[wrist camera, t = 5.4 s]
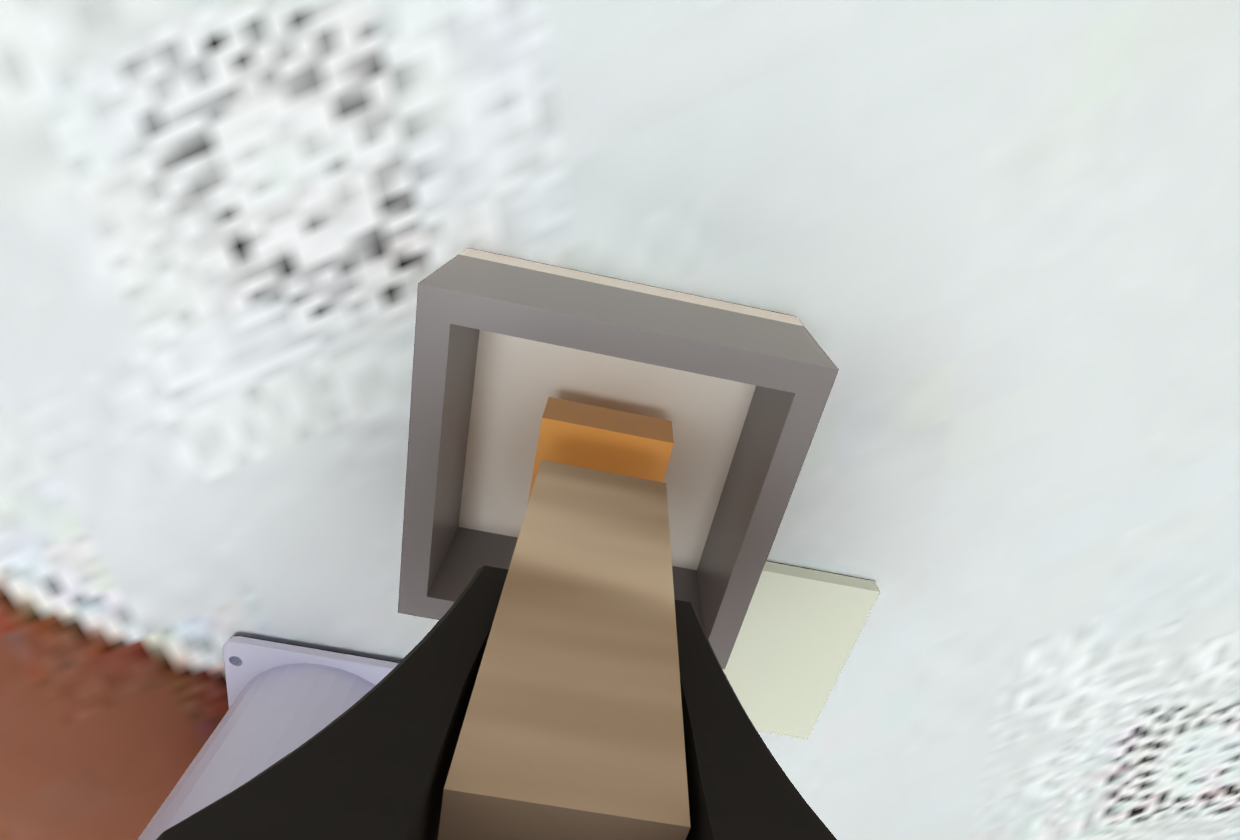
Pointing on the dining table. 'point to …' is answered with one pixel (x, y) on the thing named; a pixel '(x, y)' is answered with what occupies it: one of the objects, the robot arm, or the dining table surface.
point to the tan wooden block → (578, 676)
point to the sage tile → (796, 645)
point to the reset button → (604, 440)
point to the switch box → (610, 378)
